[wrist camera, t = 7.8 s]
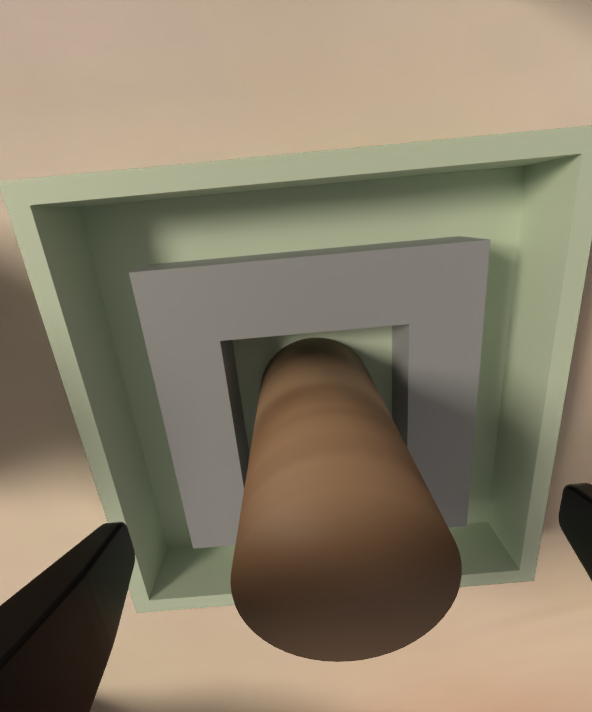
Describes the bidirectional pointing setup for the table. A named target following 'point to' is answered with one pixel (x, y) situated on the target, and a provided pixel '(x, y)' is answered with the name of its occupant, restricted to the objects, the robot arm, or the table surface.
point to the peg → (336, 517)
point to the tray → (311, 213)
